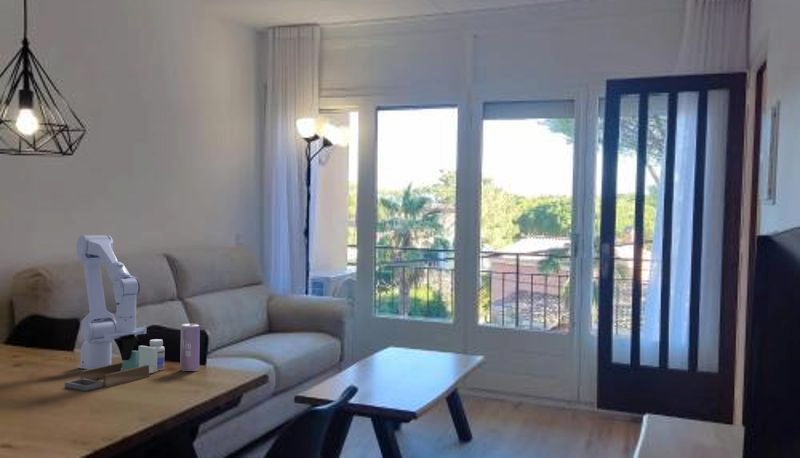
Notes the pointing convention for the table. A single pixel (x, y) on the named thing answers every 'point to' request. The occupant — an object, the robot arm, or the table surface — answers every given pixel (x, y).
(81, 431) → the table surface
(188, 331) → the beverage can
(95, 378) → the channel
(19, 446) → the table surface
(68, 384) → the tray
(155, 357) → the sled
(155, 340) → the pill bottle
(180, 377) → the table surface
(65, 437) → the table surface
